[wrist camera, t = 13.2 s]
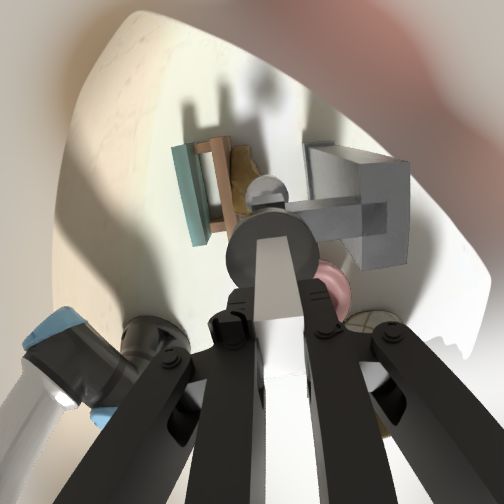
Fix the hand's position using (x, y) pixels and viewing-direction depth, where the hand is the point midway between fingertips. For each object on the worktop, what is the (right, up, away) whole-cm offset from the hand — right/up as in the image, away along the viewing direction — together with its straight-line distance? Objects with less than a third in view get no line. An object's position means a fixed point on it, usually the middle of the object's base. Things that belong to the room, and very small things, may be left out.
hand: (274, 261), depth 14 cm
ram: (0, +7, +15) cm, 16 cm away
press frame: (+5, +12, +25) cm, 29 cm away
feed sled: (-7, +10, +26) cm, 29 cm away
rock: (-1, +11, +26) cm, 28 cm away
